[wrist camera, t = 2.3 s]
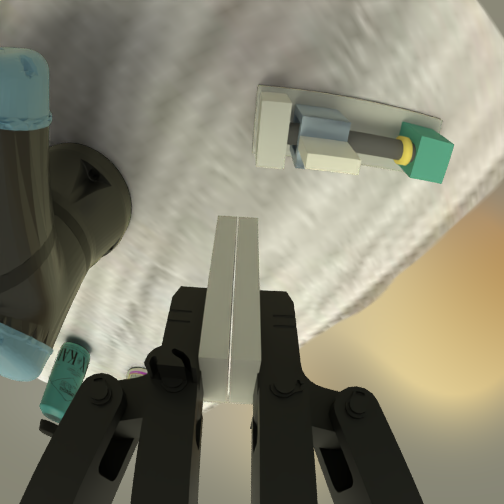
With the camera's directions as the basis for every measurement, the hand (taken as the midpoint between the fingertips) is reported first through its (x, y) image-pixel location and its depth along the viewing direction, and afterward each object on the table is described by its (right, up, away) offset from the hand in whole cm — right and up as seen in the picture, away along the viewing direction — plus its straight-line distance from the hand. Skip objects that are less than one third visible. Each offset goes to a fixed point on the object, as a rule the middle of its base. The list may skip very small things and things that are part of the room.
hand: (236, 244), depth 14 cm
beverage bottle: (-33, -18, +41) cm, 56 cm away
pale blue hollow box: (+6, +11, +15) cm, 20 cm away
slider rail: (+11, +12, +16) cm, 23 cm away
